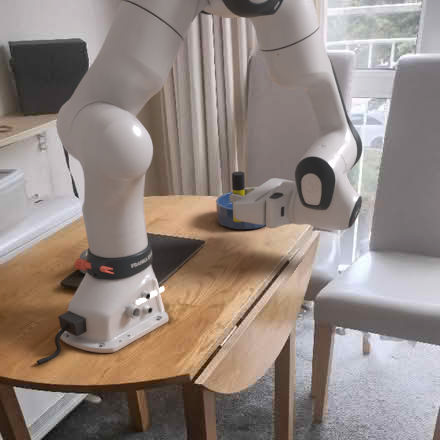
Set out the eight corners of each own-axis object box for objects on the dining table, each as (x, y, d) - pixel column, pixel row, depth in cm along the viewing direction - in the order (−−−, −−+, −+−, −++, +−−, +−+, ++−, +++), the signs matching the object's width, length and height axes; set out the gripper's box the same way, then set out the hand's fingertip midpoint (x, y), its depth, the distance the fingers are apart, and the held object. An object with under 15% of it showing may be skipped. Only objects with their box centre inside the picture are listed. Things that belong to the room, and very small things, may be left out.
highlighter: (241, 223, 139) (240, 175, 133) (230, 221, 141) (229, 174, 134) (247, 218, 141) (246, 172, 135) (236, 217, 143) (235, 170, 136)
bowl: (258, 234, 148) (257, 213, 145) (206, 225, 155) (205, 205, 151) (283, 214, 159) (284, 194, 155) (234, 207, 165) (234, 187, 162)
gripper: (308, 175, 137) (255, 168, 143) (269, 202, 123) (212, 194, 129) (306, 202, 141) (255, 194, 147) (269, 231, 127) (214, 222, 133)
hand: (235, 194), depth 138 cm, fingers closed on highlighter, 3 cm apart
